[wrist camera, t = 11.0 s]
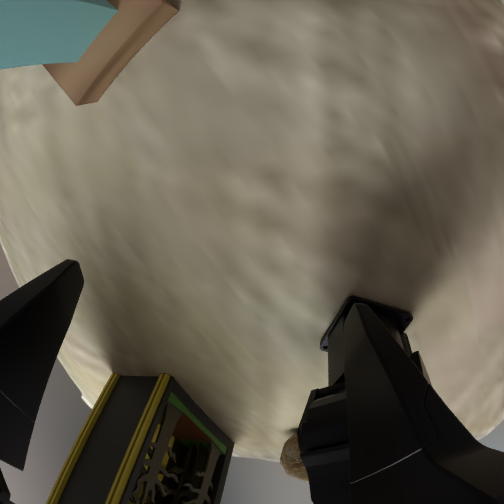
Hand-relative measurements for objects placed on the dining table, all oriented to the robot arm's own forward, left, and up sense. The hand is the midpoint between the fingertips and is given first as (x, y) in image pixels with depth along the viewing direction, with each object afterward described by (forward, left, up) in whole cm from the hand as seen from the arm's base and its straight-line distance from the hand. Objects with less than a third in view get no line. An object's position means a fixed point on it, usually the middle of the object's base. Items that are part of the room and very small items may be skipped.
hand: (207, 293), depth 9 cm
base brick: (-14, +9, -12) cm, 21 cm away
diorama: (-2, -37, -13) cm, 39 cm away
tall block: (-14, +9, -10) cm, 20 cm away
